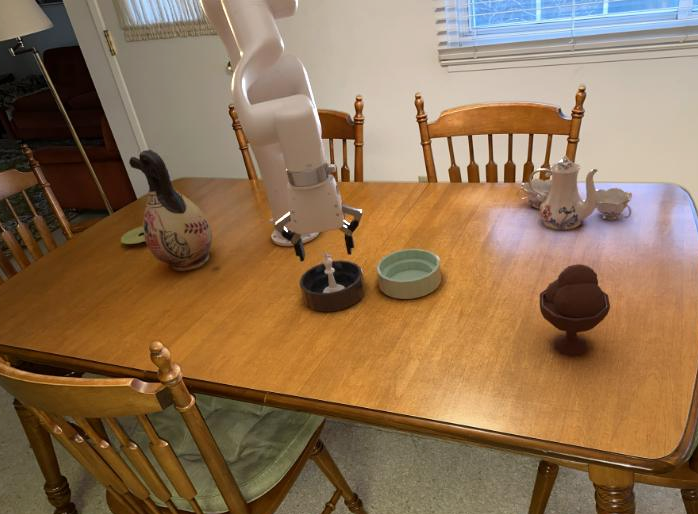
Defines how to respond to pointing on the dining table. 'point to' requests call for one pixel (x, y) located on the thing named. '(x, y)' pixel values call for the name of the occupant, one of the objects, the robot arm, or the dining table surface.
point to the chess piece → (330, 275)
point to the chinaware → (572, 197)
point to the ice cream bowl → (574, 307)
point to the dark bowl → (318, 281)
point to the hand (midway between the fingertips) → (326, 254)
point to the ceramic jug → (172, 218)
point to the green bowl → (409, 273)
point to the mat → (134, 236)
